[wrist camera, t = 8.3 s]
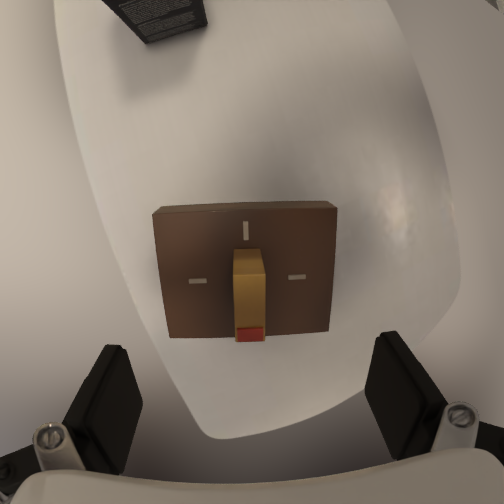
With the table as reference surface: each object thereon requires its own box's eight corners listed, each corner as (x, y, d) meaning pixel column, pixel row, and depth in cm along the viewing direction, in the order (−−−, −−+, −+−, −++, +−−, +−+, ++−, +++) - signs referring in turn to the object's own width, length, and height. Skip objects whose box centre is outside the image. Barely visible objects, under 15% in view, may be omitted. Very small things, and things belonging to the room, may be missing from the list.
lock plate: (327, 200, 26) (338, 207, 23) (320, 314, 30) (329, 332, 27) (160, 206, 26) (151, 214, 23) (175, 321, 29) (169, 339, 26)
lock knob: (233, 248, 24) (232, 276, 19) (260, 248, 24) (266, 275, 19) (235, 307, 26) (235, 344, 21) (260, 306, 26) (265, 343, 21)
